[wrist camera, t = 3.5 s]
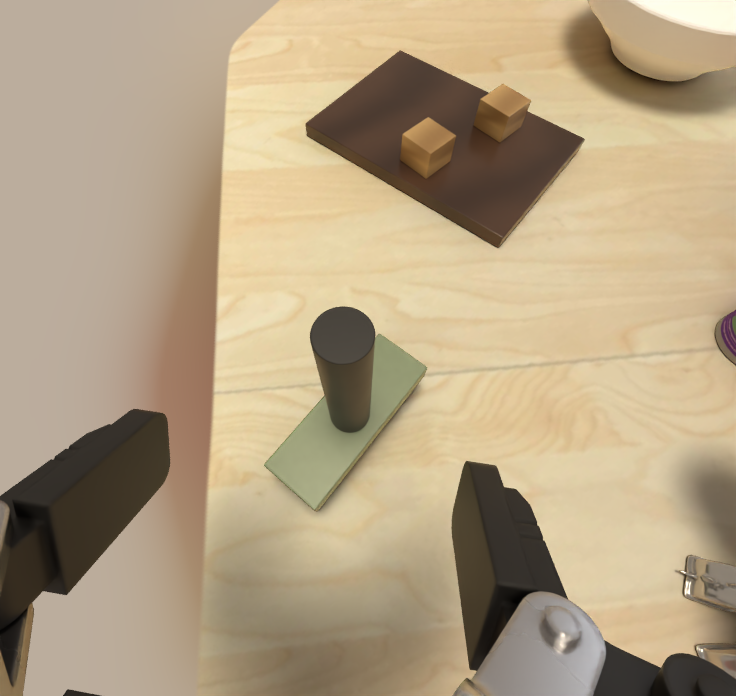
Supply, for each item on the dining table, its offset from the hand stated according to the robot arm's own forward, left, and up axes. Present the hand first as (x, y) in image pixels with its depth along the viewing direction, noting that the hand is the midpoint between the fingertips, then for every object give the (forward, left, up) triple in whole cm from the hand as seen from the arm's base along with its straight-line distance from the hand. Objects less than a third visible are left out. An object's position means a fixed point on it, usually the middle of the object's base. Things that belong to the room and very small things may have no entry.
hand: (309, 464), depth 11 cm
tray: (-12, +29, -14) cm, 34 cm away
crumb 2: (-9, +32, -13) cm, 36 cm away
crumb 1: (-11, +25, -13) cm, 30 cm away
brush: (-2, +4, -14) cm, 15 cm away
